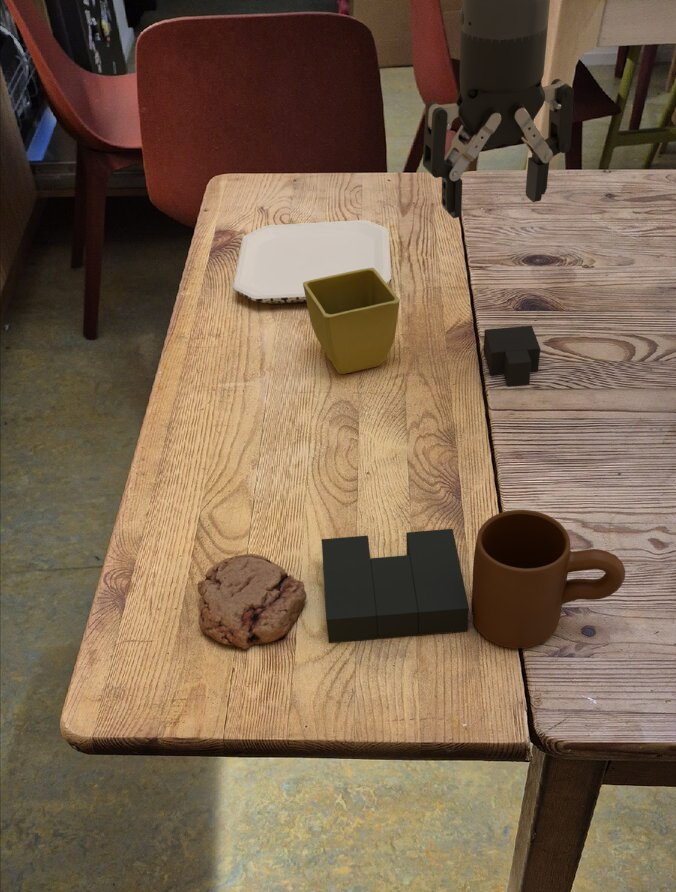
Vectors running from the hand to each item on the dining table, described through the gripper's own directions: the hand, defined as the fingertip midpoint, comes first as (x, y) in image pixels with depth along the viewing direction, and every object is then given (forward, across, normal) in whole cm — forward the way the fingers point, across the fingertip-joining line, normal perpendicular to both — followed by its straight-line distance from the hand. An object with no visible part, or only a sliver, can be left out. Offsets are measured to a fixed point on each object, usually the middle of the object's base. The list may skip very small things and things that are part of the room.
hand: (493, 206), depth 92 cm
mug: (+20, -11, -37) cm, 43 cm away
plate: (+20, -11, +32) cm, 39 cm away
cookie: (+20, -34, -26) cm, 47 cm away
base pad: (+19, -22, -30) cm, 41 cm away
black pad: (+19, +3, 0) cm, 20 cm away
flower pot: (+20, -13, +9) cm, 25 cm away
